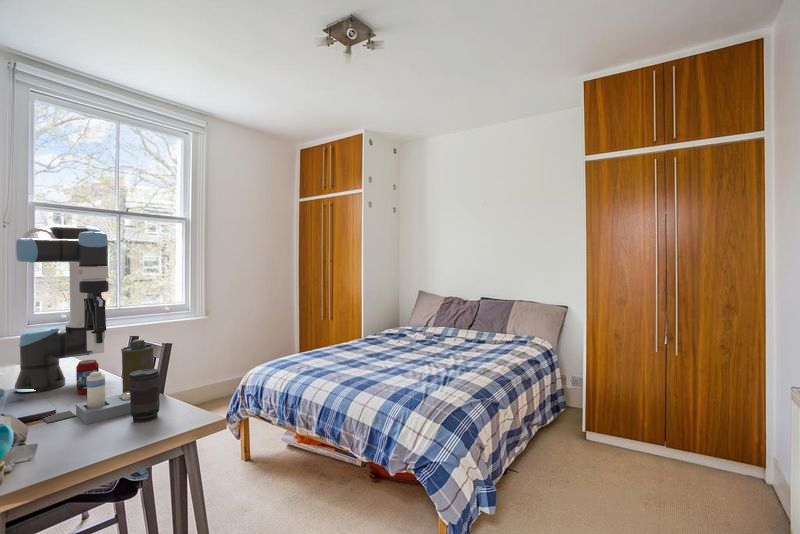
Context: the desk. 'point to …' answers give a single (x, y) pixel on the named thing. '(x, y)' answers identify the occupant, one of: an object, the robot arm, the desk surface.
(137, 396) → the camera lens
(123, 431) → the desk surface
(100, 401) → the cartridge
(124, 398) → the plunger
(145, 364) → the canister
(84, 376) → the beverage can
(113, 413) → the block
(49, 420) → the mat
